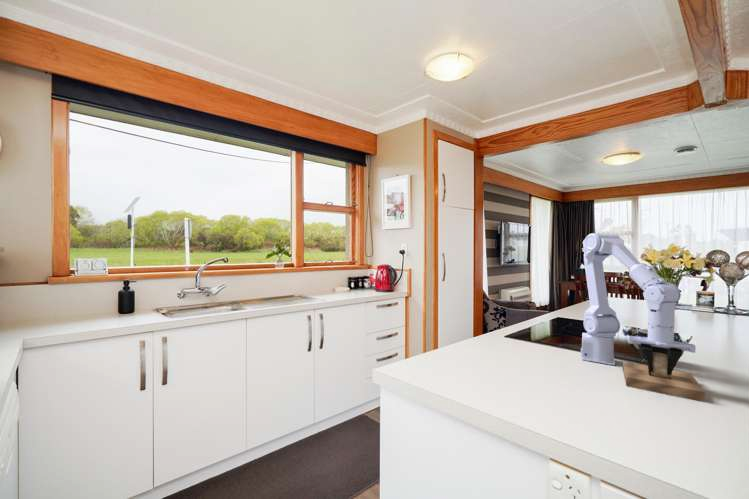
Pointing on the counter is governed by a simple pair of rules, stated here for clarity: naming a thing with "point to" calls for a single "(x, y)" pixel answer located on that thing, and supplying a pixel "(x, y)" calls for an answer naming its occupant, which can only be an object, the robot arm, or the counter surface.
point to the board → (663, 382)
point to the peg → (659, 365)
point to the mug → (655, 349)
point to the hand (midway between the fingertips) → (659, 372)
